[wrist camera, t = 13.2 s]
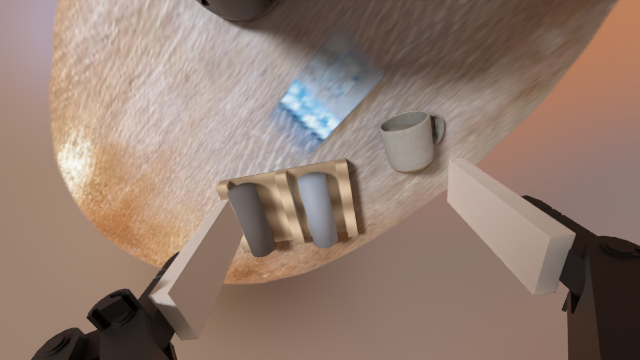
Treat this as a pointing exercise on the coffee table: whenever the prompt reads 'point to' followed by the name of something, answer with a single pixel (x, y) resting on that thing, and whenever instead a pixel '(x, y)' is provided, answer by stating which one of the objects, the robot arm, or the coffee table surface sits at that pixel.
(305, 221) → the slot rack
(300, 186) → the gray dowel
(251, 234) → the charcoal rod
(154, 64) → the coffee table surface
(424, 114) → the ceramic mug
